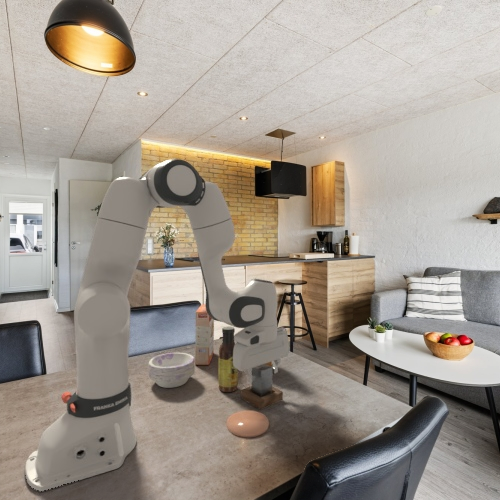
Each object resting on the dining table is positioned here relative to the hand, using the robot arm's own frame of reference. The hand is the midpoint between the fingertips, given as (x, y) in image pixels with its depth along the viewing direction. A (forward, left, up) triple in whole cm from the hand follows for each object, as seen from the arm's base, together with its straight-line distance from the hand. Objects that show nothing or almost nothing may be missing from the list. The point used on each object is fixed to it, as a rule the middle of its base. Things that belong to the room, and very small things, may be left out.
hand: (262, 376), depth 101 cm
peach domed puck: (-12, -8, -7) cm, 16 cm away
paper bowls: (-16, +28, -7) cm, 33 cm away
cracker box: (+4, +39, -7) cm, 40 cm away
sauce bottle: (-4, +12, -7) cm, 15 cm away
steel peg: (0, 0, -7) cm, 7 cm away
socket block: (0, 0, -7) cm, 7 cm away
